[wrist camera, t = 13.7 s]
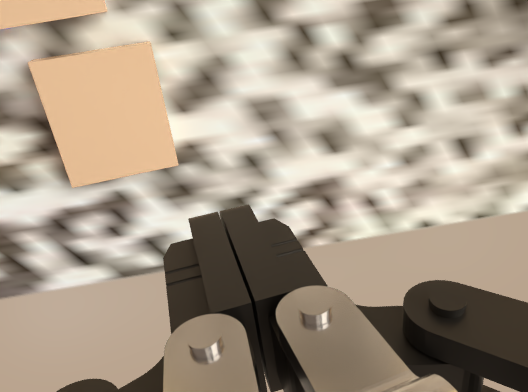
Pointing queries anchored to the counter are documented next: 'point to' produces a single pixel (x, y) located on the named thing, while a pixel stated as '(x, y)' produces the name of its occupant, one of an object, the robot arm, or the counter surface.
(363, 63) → the counter surface
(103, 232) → the counter surface
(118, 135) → the tile
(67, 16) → the tile
